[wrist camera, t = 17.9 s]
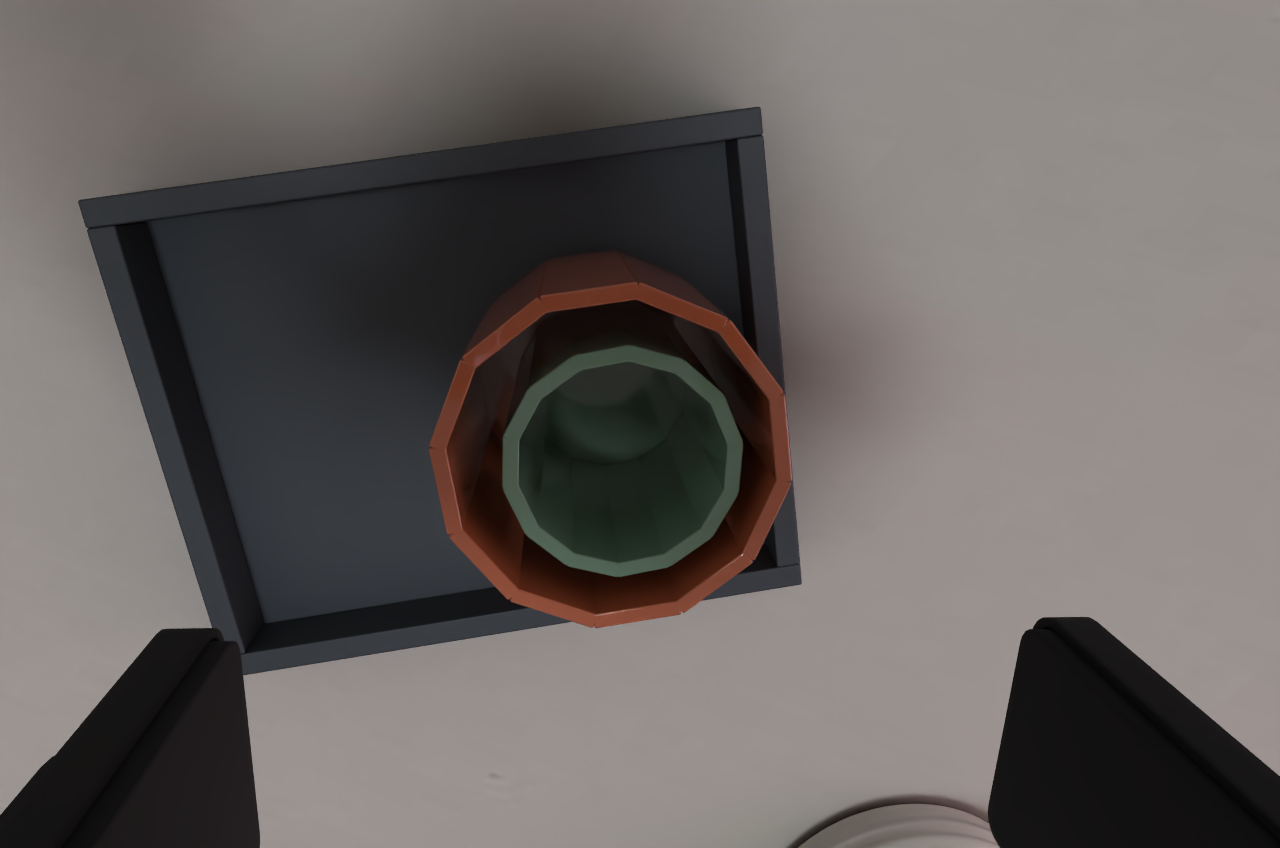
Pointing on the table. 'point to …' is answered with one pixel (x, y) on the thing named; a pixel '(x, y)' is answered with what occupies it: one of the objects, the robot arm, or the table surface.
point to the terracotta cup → (480, 413)
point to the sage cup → (618, 442)
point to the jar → (906, 829)
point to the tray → (393, 357)
